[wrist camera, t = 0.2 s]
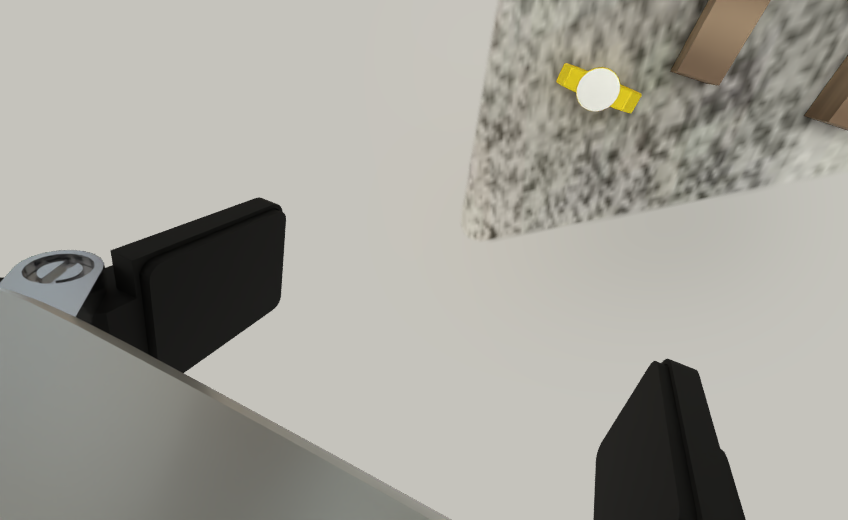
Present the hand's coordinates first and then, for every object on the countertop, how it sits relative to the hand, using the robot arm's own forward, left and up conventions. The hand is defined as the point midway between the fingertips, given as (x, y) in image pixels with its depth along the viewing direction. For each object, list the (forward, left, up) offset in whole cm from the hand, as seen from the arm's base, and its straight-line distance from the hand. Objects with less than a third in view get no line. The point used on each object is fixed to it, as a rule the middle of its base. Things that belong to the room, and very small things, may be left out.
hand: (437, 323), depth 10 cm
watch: (-5, +1, -31) cm, 31 cm away
